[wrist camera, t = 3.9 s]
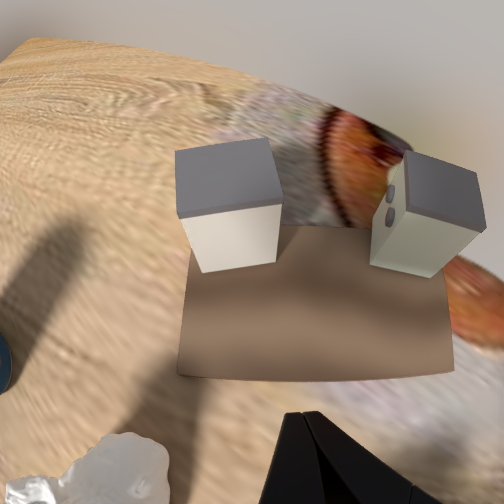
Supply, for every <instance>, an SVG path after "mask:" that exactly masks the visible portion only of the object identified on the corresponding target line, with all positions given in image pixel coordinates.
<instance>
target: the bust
mask: <svg viewBox="0 0 504 504" xmlns="http://www.w3.org/2000/svg"><path fill="white" fill-rule="evenodd" d="M168 467H169V454H168V452H167V450H166V448H165V447H164V446H163V445H161V444H159V443H157V442H155V441H153V440H152V439H150V438H144V437H141V436H139V435H137V434H136V433H133V432H126V433H122V434H107V435H105V436H104V437H102V438H101V440H100V442H99V444H98V445H96V446H94V447H91V448H90V449H89V450H88V452H87V454H86V455H85V456H83V457H82V458H79V459H77V460H75V461H74V462H73V464H72V466H71V467H70V468H69V469H68V470H67V471H66V472H65V473H64V474H63V475H62V476H61V477H60V479H59V480H58V481H57V479H56V478H54V477H51V478H48V477H47V476H44V475H39V476H33V475H30V476H27V477H22V478H19V479H18V480H15V481H13V480H10V481H9V482H8V483H7V484H6V499H5V503H4V504H169V500H170V487H169V483H168V480H167V471H168Z"/></svg>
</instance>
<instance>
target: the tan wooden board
mask: <svg viewBox="0 0 504 504" xmlns="http://www.w3.org/2000/svg"><path fill="white" fill-rule="evenodd" d="M371 238H372V229H361V228H342V227H322V226H300V225H280V227H279V236H278V245H277V254H276V262H272V263H266V264H259V265H253V266H246V267H240V268H233V269H227V270H220V271H213V272H207V273H202V272H201V269H200V267H199V264H198V262H197V259H196V257H195V254H194V252H193V249H192V248H191V255H190V262H189V269H188V277H187V284H186V292H185V300H184V308H183V317H182V326H181V335H180V344H179V354H178V364H177V374H178V375H183V376H193V377H203V378H215V379H229V380H245V381H269V382H341V381H365V380H381V379H394V378H405V377H415V376H424V375H433V374H441V373H448V372H452V371H454V357H453V343H452V332H451V323H450V314H449V306H448V299H447V292H446V286H445V280H444V274H443V268H441V269H440V270H439V271H438V272H437V273H436V274H435V275H433V276H432V277H431V278H427V277H423V276H418V275H414V274H409V273H405V272H400V271H396V270H391V269H387V268H382V267H378V266H373V265H369V263H370V251H371Z"/></svg>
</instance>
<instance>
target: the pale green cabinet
mask: <svg viewBox="0 0 504 504" xmlns="http://www.w3.org/2000/svg"><path fill="white" fill-rule="evenodd" d="M485 229H486V221H485V215H484V209H483V203H482V198H481V193H480V188H479V183H478V179H477V174H476V173H475V172H473V171H470V170H467V169H464V168H462V167H459V166H456V165H453V164H450V163H447V162H444V161H441V160H439V159H435V158H432V157H429V156H426V155H423V154H420V153H417V152H413V151H410V150H407V149H406V151H405V153H404V155H403V160H402V162H401V164H400V166H399V168H398V170H397V172H396V174H395V176H394V178H393V180H392V182H391V184H390V185H389V186H388V188H387V191H386V194H385V195H384V197H383V199H382V201H381V203H380V205H379V207H378V209H377V211H376V213H375V214H374V216H373V222H372V238H371V251H370V263H369V265H373V266H378V267H382V268H387V269H391V270H396V271H400V272H405V273H409V274H414V275H418V276H423V277H427V278H431V277H432V276H433V275H435V274H436V273H437V272H438V271H439V270H440V269H441V268H443V267H444V266H445V265H446V264H447V263H448V262H449V261H450V260H451V259H453V258H454V257H455V256H456V255H457V254H458V253H459V252H460V251H461V250H462V249H463V248H464V247H466V245H468V244H469V243H470V242H471V241H472V240H473V239H474V238H475V236H477V235H478V234H479V233H482V232H483V231H484V230H485Z"/></svg>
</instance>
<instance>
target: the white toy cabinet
mask: <svg viewBox="0 0 504 504" xmlns="http://www.w3.org/2000/svg"><path fill="white" fill-rule="evenodd" d="M175 178H176V207H177V215H178V217H179V219H181V221H182V224H183V227H184V229H185V232H186V234H187V237H188V239H189V242H190V244H191V247H192V249H193V252H194V254H195V257H196V259H197V262H198V264H199V267H200V269H201V272H202V273H207V272H213V271H220V270H227V269H233V268H240V267H246V266H253V265H259V264H266V263H272V262H276V254H277V245H278V236H279V227H280V217H281V208H282V204H283V201H284V195H283V191H282V187H281V184H280V180H279V176H278V173H277V169H276V165H275V162H274V158H273V154H272V151H271V147H270V144H269V140H268V138H260V139H251V140H243V141H236V142H228V143H221V144H215V145H208V146H202V147H196V148H190V149H184V150H178V151H175Z"/></svg>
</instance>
